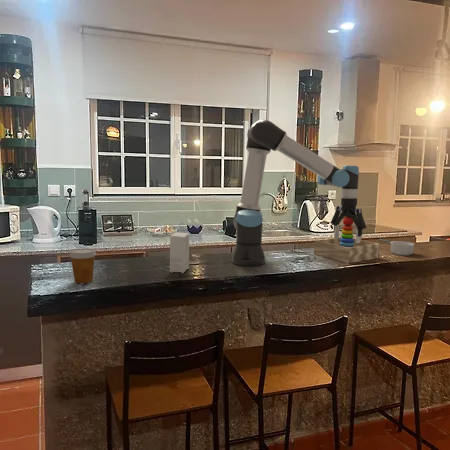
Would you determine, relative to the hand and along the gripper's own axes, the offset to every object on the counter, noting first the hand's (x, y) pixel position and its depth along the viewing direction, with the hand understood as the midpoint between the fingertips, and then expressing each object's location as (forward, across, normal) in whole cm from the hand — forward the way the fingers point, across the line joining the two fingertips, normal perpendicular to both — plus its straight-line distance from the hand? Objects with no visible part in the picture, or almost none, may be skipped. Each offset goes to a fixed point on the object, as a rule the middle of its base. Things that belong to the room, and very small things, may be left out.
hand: (346, 240), depth 214 cm
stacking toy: (+7, 0, 0) cm, 7 cm away
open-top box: (+8, 0, 0) cm, 8 cm away
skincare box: (+8, +15, +84) cm, 86 cm away
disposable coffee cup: (+8, +18, +123) cm, 125 cm away
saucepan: (+8, -6, -30) cm, 32 cm away
